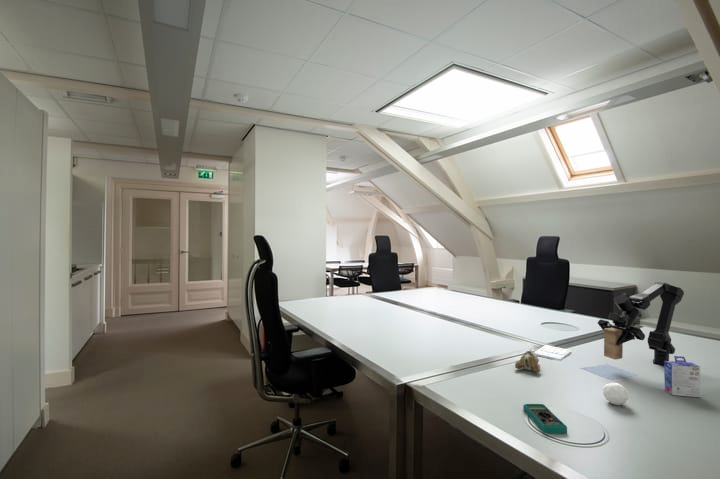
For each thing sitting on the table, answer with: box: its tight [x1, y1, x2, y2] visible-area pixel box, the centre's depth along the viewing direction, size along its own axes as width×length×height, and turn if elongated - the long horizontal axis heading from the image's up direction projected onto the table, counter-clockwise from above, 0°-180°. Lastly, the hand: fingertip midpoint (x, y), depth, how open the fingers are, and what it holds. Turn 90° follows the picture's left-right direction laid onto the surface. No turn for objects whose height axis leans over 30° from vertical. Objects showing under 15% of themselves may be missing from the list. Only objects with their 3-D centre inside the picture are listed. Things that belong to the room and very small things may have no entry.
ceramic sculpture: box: [514, 349, 541, 373], centre depth 165 cm, size 11×9×15 cm
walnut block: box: [603, 328, 624, 360], centre depth 163 cm, size 5×5×13 cm
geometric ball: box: [602, 382, 630, 406], centre depth 131 cm, size 8×8×8 cm
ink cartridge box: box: [663, 355, 701, 398], centre depth 140 cm, size 10×6×14 cm, turn 78°
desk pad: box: [580, 363, 638, 381], centre depth 162 cm, size 18×14×1 cm
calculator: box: [533, 344, 572, 361], centre depth 188 cm, size 13×20×2 cm, turn 134°
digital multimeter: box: [523, 403, 568, 435], centre depth 118 cm, size 8×15×3 cm, turn 179°
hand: (611, 343), depth 162 cm, fingers closed on walnut block, 5 cm apart
